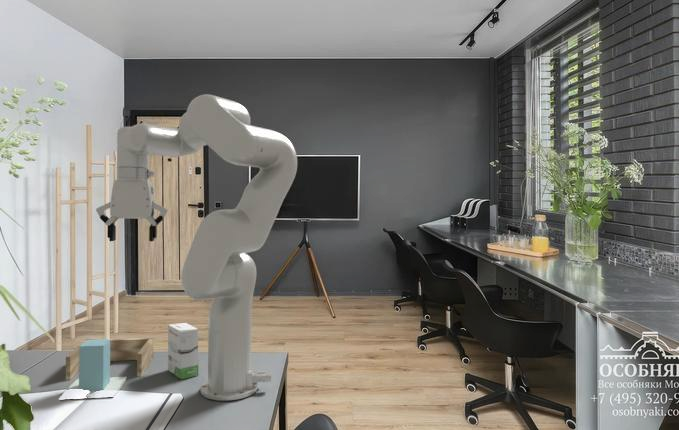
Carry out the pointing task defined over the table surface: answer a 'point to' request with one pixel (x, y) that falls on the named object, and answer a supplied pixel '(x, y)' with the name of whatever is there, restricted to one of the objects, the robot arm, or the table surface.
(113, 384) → the felt mat
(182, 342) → the ink box
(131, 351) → the crate
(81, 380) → the teal block
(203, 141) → the robot arm
